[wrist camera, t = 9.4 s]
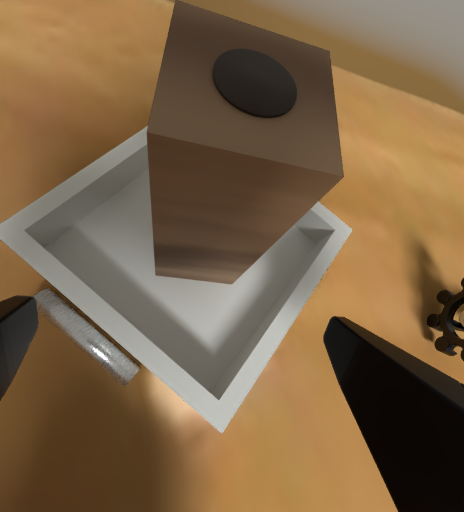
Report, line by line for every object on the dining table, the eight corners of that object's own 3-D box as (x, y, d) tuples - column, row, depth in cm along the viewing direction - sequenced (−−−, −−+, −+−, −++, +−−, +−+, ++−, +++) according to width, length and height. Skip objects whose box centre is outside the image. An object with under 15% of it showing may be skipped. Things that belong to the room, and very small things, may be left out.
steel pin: (142, 366, 15) (125, 385, 14) (139, 370, 16) (123, 388, 15) (49, 285, 15) (27, 299, 14) (51, 293, 16) (31, 307, 15)
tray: (210, 418, 15) (221, 433, 13) (20, 252, 16) (-10, 230, 13) (327, 245, 22) (352, 229, 19) (187, 129, 22) (191, 96, 19)
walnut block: (231, 284, 18) (346, 174, 7) (155, 275, 17) (146, 128, 6) (235, 218, 20) (331, 47, 9) (166, 206, 19) (175, -5, 8)
